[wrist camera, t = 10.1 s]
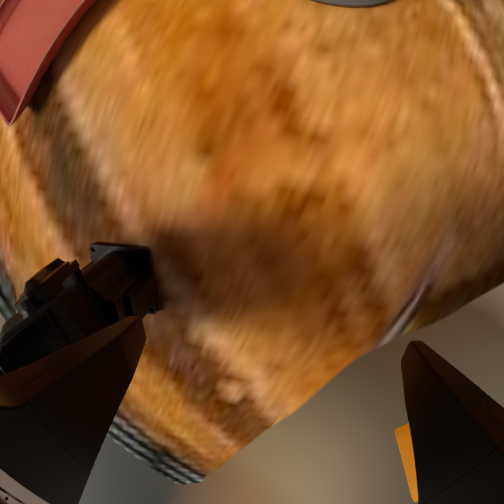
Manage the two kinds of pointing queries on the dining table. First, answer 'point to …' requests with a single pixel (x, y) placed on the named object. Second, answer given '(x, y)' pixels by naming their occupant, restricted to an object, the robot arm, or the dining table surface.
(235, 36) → the dining table surface
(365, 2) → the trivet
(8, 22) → the plant saucer
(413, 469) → the bracket
